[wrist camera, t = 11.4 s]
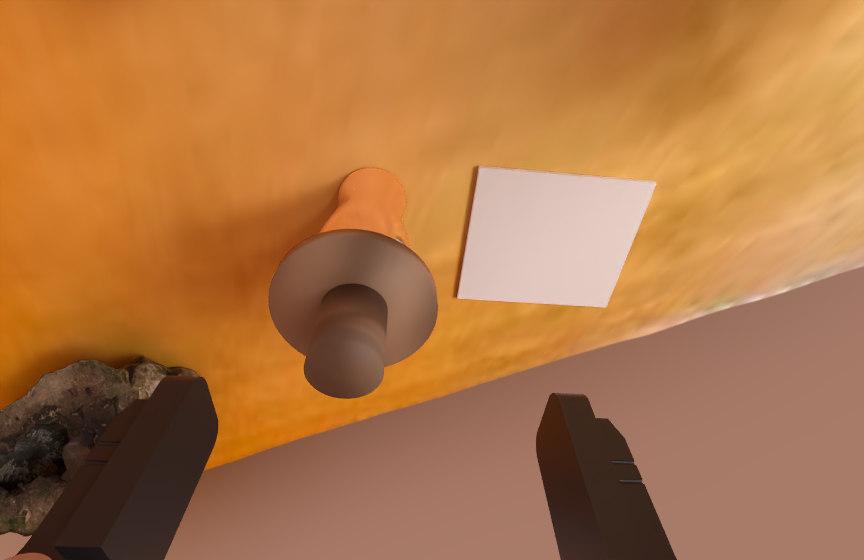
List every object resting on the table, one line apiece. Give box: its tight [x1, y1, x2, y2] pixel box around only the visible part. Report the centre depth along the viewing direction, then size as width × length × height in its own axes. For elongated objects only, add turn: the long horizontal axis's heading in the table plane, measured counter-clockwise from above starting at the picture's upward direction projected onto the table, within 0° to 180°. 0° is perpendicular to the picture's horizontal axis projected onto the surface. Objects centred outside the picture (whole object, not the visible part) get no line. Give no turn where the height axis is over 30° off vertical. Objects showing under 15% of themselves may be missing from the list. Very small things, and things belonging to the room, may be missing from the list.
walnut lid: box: [268, 229, 438, 399], centre depth 25 cm, size 10×10×6 cm
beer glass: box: [319, 168, 411, 249], centre depth 34 cm, size 7×7×15 cm
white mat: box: [457, 166, 657, 307], centre depth 43 cm, size 16×14×1 cm
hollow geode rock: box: [0, 356, 200, 536], centre depth 49 cm, size 28×13×15 cm
